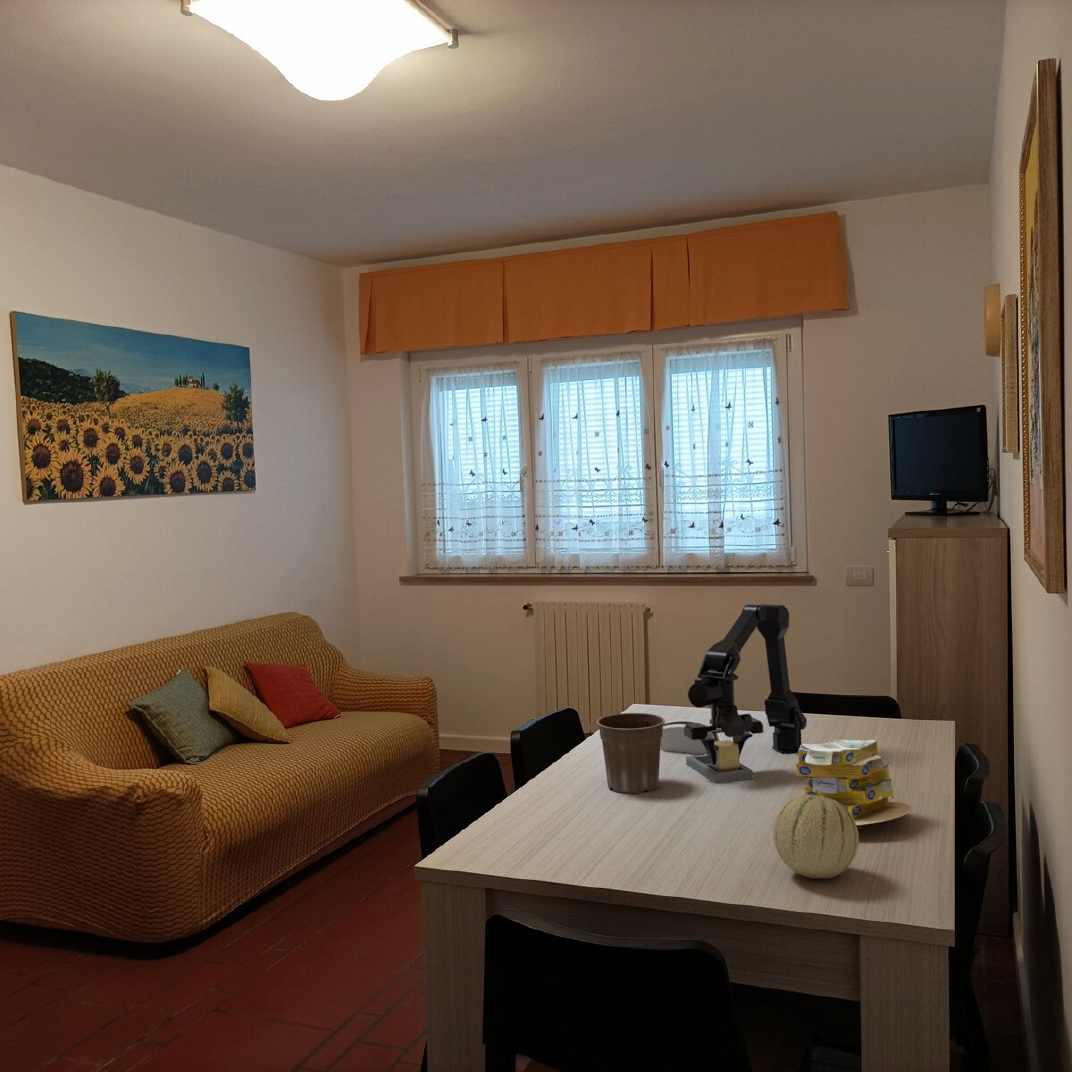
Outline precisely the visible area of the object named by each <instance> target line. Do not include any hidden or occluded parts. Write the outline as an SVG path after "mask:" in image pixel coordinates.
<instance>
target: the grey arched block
mask: <svg viewBox="0 0 1072 1072" xmlns="http://www.w3.org/2000/svg"><path fill="white" fill-rule="evenodd" d="M693 723H700V724H702V725H704V726H712V724H710V723H705V722H702V721H698V720H693V719H675V720H670V721H666V722H665V723H664V724H663V733H662V738H661V745H660V751H661V750H668V751H667V752H671V751H677V752H676V753H682V752H685V753H684V754H692V753H694V755H703V754H707V751H706V749H705V747H704V745H703V743H702V742H701V740H692V739H690V738H688V737H687V736H685V735H684V727H685V726H686V724H693ZM718 734H719V733H712V738H714V739H715V742H716V741H721V740H720V738H719V735H718Z"/></svg>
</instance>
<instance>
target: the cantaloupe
mask: <svg viewBox="0 0 1072 1072" xmlns="http://www.w3.org/2000/svg"><path fill="white" fill-rule="evenodd" d="M815 793H817V795H805V794H804V795H803V794H802V795H798V796H796V797H794V798H791V800H789V801H788V802H787V803H786V804H784V805H783V806H782V808H781V809H780V811H779V812H778V814H777V816H776V818H775V822H774V824H773V842H774V846H775V850H776V851H777V854H778V855H779V857H780V859H781V860H782V861H783V863H784V864H785V865H786V866H787V867H788V868H789V869H791V871H793V872H794V873H796V874H797V875H801V876H803V877H806V878H809V879H813V880H815V879H831V878H835V877H836V876H838V875H840V874H842V873H843V872H844V871H845V870H847V869H848V868H849V867H850V866H851V864H852V863H853V861H854V860H855V857H856V855H857V852H858V849H859V844H860V841H859V839H860V838H859V836H860V833H859V830H858V829H859V828H858V827H857V826H858V825H856V823H855V821H854V819H853V817H852V815H851V813H850V812H849V811H848V810H847V809H846V808H845V807H844V806H843V805H842V804H840V803H839V802H837V801H835V800H833V799H830V798H827V797H825V796H824V795H823V794H822V792H821V791H820V790H818V789H816V790H815Z"/></svg>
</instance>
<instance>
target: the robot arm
mask: <svg viewBox="0 0 1072 1072" xmlns="http://www.w3.org/2000/svg"><path fill="white" fill-rule="evenodd" d="M789 627H790V612H789V610H788V608H787V607H786V606H785V605H783V604H769V603H767V604H765V603H760V604H750V603H748V604H746V605H744V606H743V607H742V611H741V613H740V615H739V616H738V618H737V619H736V621H735V622H734V623H733V625H732V626H731V628H730V629H729V630H728V632H727V634H726V635H725V636H724V638H722V640H719V641H718V642H716V643H714V644H713V645H711V647H709V649H707V651H706V653H705V655H704V657H703V660H702V663H701V666H700V669H699V671H698V673H697V678H694V684H692V685H691V686H690V687H689V689H688V692H687V697H688V700H689V702H690V703H691V704H692V705H693V707H695V708H697V709H698V708H699V709H700V708H704V707H708V706H709V708H710V714H711V718H709V725H712V726H704V725H702V724H700V723H693V724H686V726H685V727H684V735H685V736H687V737H688V738H690V739H692V740H701V742H702V743H703V745H704V747H705V749H706V751H707V754H708V756H709V758H710V760H711V763H712V764H713V765H715V751H714V742H715V739H714V738H712V733H717V734H720V733H724V736H725V737H727V738H732V742H734V743H736V744H738V748H739V759H740V758H741V757H740V756H741V754H742V751H743V748H744V746H745V743H746V741H747V740H748V739H750V738H753V735H755V734H756V735H757V734H763V733H764V723H763V722H762V721H761V720H759V719H757V718H755V717H752V715H751V714H750V713H743V714H739V711H738V706H737V705H736V704H735V685H734V683H735V681H737V680H738V679H739V676H738V675H737V674H736V673H735V671H736V670H737V668H738V666H739V663H740V662H741V660H742V659H741V651H742V649H743V647H744V646H745V645H746V643H747V642H748V640H749V639H750V637H751V635H753V633H754V631H755V629H757V630H758V632H759V633H760V635H761V636H762V637H763V638H764V642H765V643H764V644H765V651H766V652H765V653H766V661H767V670H768V679H769V685H770V686H769V687H770V693H769V694H768V696H767V698H766V699H765V700H764V702H763V703H764V709H765V711H764V713H765V715H766V718H767V719H766V720H767V723H768V727H773V730H774V731H773V732H772V746H771V748H772V749H773V750H775V751H777V752H779V753H781V754H789V753H792V754H793V753H798V750H799V748H800V745H801V744H802V730H805V728H806V727H807V724H808V723H807V721H808V719H807V717H806V716H805V714H804V713H803V712H802V710H801V709H800V706H799V701H798V697H796V695H795V694H794V693H793V691H792V690H791V688H790V687H791V686H790V679H789V678H790V677H789V669H788V668H789V667H788V662H787V652H786V643H785V635H786V633H787V631H788V630H789ZM711 763H710V764H711Z"/></svg>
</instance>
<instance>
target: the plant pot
mask: <svg viewBox="0 0 1072 1072" xmlns="http://www.w3.org/2000/svg"><path fill="white" fill-rule="evenodd" d="M665 721H666V719H665V718H664V717H663V716H659V715H656V714H654V713H644V712H625V713H624V712H622V713H612V714H608V715H604V716H601V717H600V718H598V719H597V720H596V725H597V726H598V729H599V738H600V740H601V742H602V750H603V751H602V752H603V758H604V765H605V773H606V781H607V787H608V789H610V790H611V789H612V791H613V792H616V793H621V794H628V793H632V794H643V792H645V791H647V792H652V791H654V790H656V789H658V788H659V782H660V761H661V760H660V759H661V747H660V745H661V738H662V733H663V724H664V723H666V722H665Z"/></svg>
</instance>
